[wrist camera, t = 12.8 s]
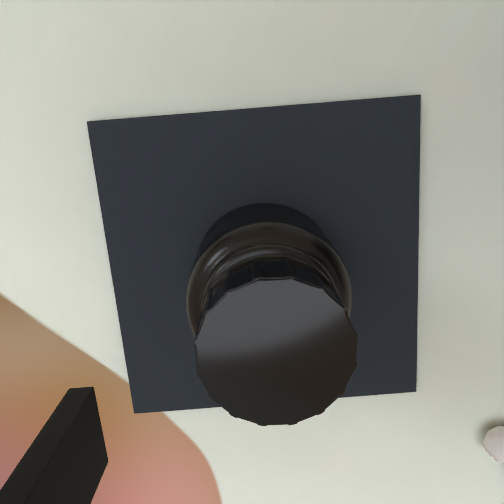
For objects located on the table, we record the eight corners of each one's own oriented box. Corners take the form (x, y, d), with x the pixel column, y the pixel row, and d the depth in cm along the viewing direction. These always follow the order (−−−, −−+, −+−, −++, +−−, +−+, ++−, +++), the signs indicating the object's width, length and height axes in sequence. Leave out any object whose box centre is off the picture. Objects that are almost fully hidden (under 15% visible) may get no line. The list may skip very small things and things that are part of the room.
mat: (418, 95, 29) (420, 94, 29) (414, 388, 34) (416, 391, 34) (88, 121, 29) (86, 121, 29) (135, 410, 34) (134, 413, 34)
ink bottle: (186, 326, 32) (155, 441, 21) (191, 196, 30) (159, 243, 18) (330, 334, 33) (378, 452, 21) (346, 206, 30) (410, 258, 19)
